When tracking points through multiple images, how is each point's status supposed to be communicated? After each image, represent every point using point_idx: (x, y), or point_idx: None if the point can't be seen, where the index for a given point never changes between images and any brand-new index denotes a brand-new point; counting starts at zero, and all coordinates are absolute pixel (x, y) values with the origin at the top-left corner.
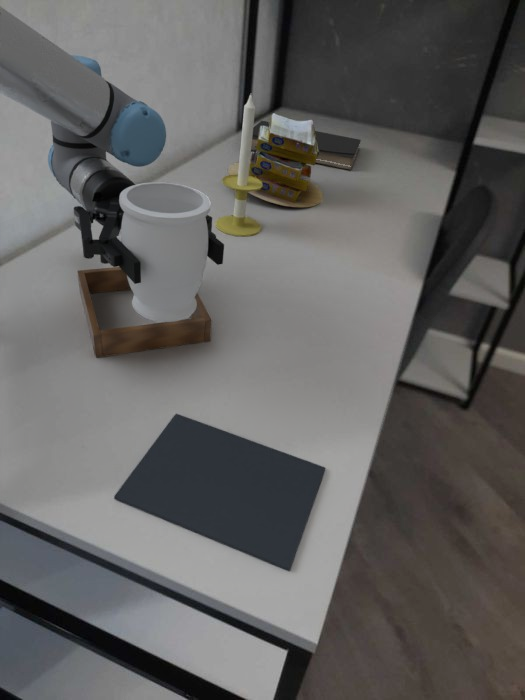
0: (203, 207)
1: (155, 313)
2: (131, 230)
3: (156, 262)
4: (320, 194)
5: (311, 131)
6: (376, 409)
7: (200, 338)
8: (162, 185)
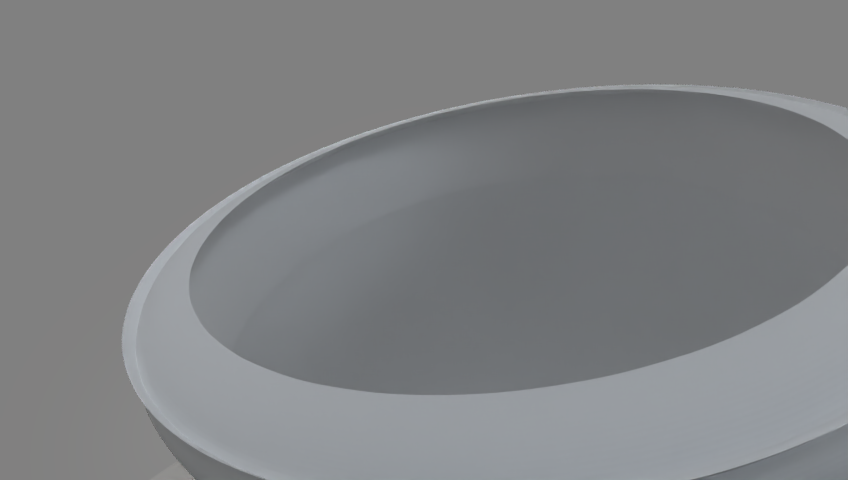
0: (308, 157)
1: None
2: (744, 237)
3: (603, 299)
4: None
5: None
6: (181, 464)
7: None
8: None
